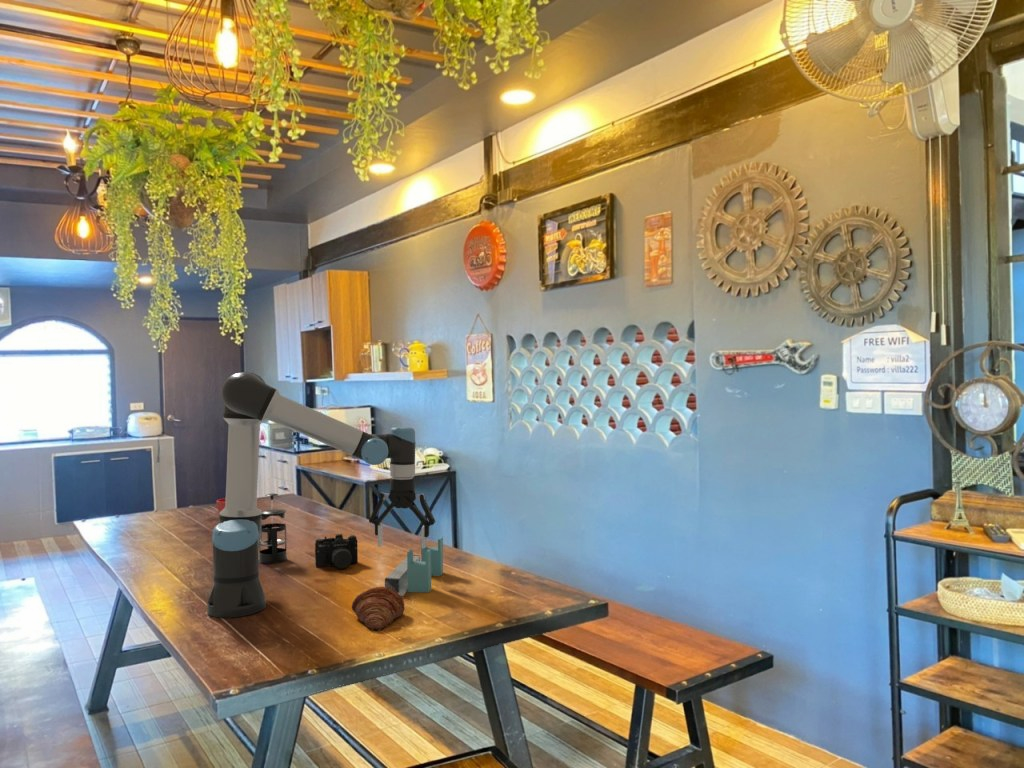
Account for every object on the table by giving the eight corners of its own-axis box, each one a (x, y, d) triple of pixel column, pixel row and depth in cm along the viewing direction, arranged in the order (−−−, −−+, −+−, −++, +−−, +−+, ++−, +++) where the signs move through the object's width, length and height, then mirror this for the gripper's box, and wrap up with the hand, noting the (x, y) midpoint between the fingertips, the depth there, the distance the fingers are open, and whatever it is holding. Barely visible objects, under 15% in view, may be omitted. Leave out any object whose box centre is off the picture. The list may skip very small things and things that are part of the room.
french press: (289, 562, 256) (288, 495, 255) (260, 565, 252) (259, 497, 251) (284, 554, 266) (283, 490, 266) (256, 558, 262) (255, 492, 262)
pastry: (423, 617, 197) (422, 587, 197) (375, 633, 186) (375, 601, 185) (382, 604, 208) (382, 576, 208) (336, 618, 197) (335, 588, 197)
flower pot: (211, 523, 325) (210, 501, 325) (227, 518, 335) (227, 496, 335) (232, 524, 322) (231, 502, 322) (248, 519, 332) (247, 497, 332)
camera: (316, 572, 242) (316, 542, 242) (314, 565, 252) (314, 535, 252) (360, 569, 246) (359, 538, 246) (356, 561, 256) (356, 532, 256)
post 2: (440, 575, 237) (440, 539, 236) (421, 575, 237) (421, 539, 237) (443, 572, 241) (442, 536, 240) (424, 572, 241) (423, 536, 241)
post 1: (428, 592, 219) (428, 553, 218) (407, 592, 219) (407, 552, 219) (431, 588, 223) (430, 549, 222) (410, 588, 223) (410, 549, 223)
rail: (398, 592, 217) (398, 579, 216) (385, 592, 217) (384, 578, 217) (420, 567, 244) (420, 555, 244) (408, 567, 245) (408, 555, 245)
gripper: (445, 477, 233) (444, 545, 233) (366, 475, 235) (365, 542, 235) (440, 480, 225) (439, 551, 225) (359, 478, 228) (358, 547, 228)
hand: (401, 546), depth 230 cm, fingers open, 13 cm apart
